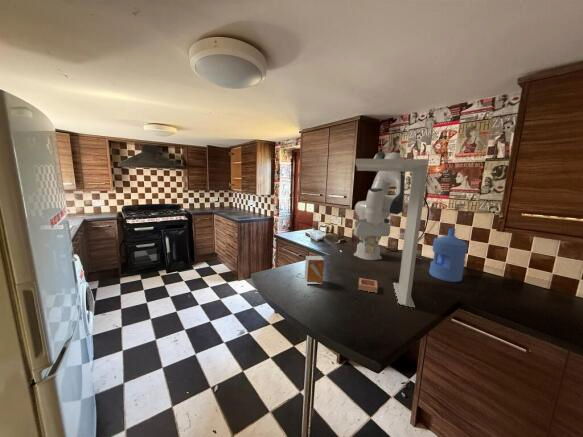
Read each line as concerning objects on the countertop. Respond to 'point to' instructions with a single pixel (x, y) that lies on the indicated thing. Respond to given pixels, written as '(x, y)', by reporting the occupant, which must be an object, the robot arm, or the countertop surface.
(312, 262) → the small box
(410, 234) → the stand
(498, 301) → the countertop surface
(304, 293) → the countertop surface
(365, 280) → the socket
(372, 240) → the peg
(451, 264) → the water jug
